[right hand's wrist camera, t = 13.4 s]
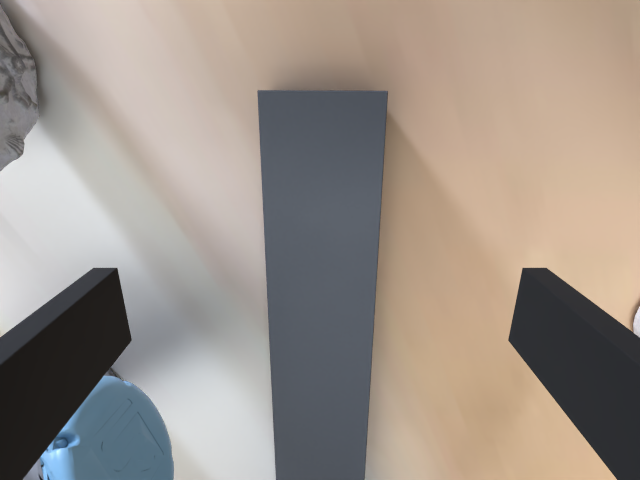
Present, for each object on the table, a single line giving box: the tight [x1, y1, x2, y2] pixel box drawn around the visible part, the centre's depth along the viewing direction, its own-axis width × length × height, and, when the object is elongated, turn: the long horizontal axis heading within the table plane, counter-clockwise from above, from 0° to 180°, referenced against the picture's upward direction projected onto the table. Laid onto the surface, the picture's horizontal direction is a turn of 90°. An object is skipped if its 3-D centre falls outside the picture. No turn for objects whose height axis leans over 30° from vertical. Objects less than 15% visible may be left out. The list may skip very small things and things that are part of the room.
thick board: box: [258, 90, 388, 480], centre depth 43 cm, size 70×10×7 cm, turn 0°
